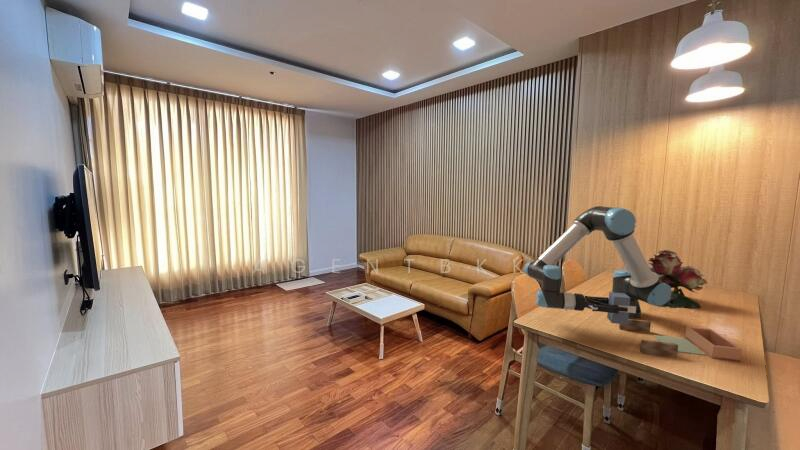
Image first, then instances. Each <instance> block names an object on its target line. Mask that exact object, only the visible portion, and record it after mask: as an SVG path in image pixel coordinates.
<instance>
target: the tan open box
mask: <svg viewBox="0 0 800 450" xmlns="http://www.w3.org/2000/svg"><path fill="white" fill-rule="evenodd" d="M685 339H687V340H688V341H689V342H691V343H692V344H693V345H694V346H696V347H697V348H698V349H699V350H701V351H702V352H703V353H705V354H706V355H707V356H708V357H710V358H711V359H713V360H714V359H715V360H725V361H731V362H741V360H742V359H741V358H742V357H741V356H742V348H741V347H739V346H738V345H736V344H735V343H733V342H731V341H730V340H728V339H727V338H725V337H723V336H722V335H721V334H719V332H716V331H715V330H713V329H710V328H700V327H692V326H686V329H685Z"/></svg>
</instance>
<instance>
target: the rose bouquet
mask: <svg viewBox="0 0 800 450" xmlns="http://www.w3.org/2000/svg"><path fill="white" fill-rule="evenodd" d="M647 263H648V265H649V267H650V269H651V271H652V272H654V273H656V274H657V275H658V276H659V278H660V280H661V282H662V283H666V284H668V285H669V286H670V287H671V289H672V290H671V296H670V298H669V300H668V301H667V302H666V303H665V304H663V305H661V306H658V307H660V308H670V309H671V308H673V309H676V308H677V309H678V308H679V309H681V308H691V309H692V308H697V307H698V308H701V303H700V302H699V301H697V300H695V299H691V298H690V297H688V296H686V295H685V293H684V292H683V290H682V288H684V289H686V290H688V291H690V292H691V293H695V294H697V291H700V290H703V286H704V285H705V284H708V281H707V280H706V278H703V277H705V275H704V274H702V273H701V271H700V270H699V269H698V268H696V267H694V266H690V265H688V266H682V265H683V263H684V262H683V261H682V260H681V258H680V257H679V256H678V253H677V252H675V251H674V250H668V249H662V250H659V251H658V252H657V254H654V258H653V257H650V258H649V259H648V262H647ZM679 287H680V288H679ZM681 287H682V288H681ZM694 290H696V291H694Z"/></svg>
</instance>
